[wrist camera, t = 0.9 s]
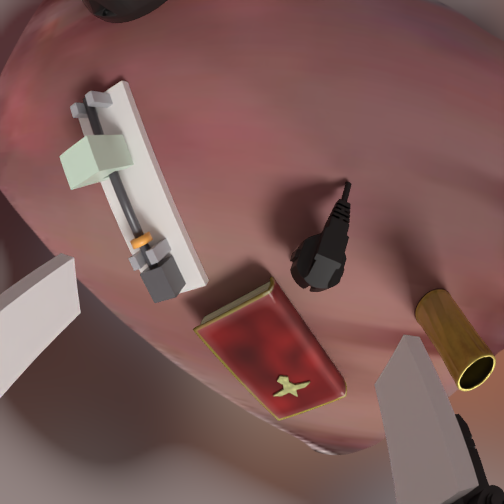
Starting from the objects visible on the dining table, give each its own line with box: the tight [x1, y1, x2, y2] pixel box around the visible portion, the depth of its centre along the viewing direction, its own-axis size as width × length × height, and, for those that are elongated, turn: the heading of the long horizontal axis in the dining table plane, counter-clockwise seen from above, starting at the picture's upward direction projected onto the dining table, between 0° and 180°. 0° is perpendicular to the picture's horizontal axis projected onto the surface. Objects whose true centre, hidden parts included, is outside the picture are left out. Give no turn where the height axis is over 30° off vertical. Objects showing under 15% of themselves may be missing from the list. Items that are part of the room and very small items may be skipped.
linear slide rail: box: [70, 81, 209, 303], centre depth 32 cm, size 28×8×6 cm, turn 21°
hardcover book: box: [193, 276, 347, 421], centre depth 39 cm, size 12×21×4 cm, turn 34°
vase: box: [415, 289, 496, 391], centre depth 28 cm, size 6×6×14 cm
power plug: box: [290, 182, 351, 292], centre depth 32 cm, size 6×8×12 cm
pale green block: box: [59, 135, 134, 190], centre depth 28 cm, size 4×4×7 cm
